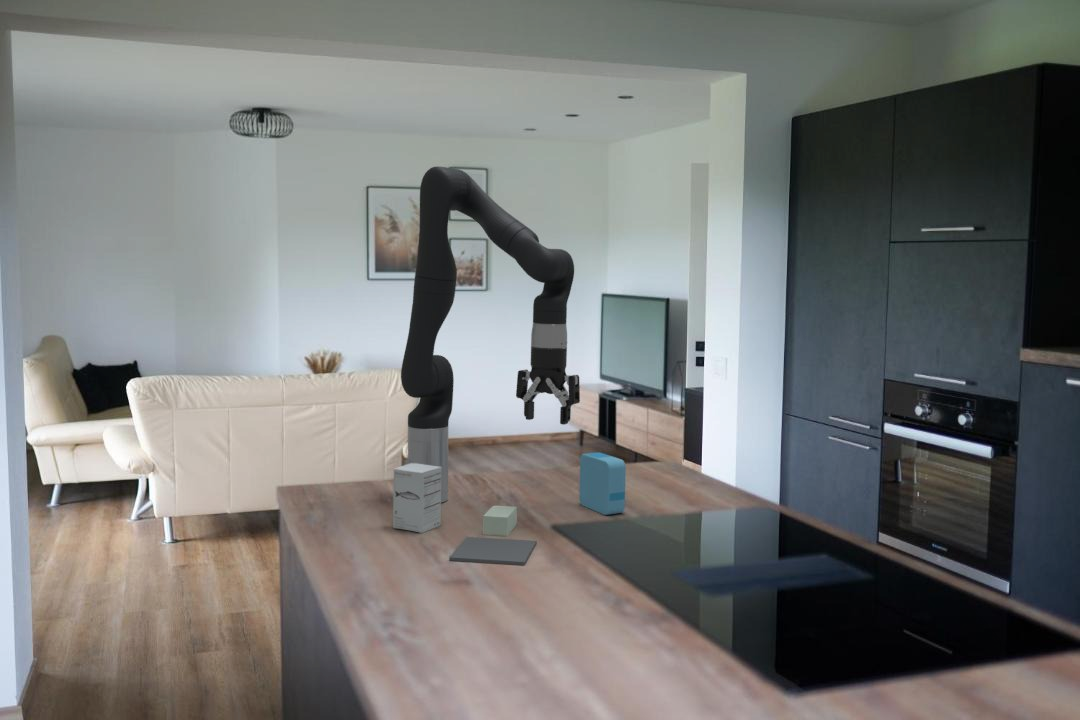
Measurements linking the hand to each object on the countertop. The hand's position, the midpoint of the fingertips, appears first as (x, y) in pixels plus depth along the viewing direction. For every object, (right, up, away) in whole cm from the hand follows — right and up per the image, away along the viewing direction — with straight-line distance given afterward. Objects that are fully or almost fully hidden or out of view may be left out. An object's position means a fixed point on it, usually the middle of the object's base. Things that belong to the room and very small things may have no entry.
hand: (546, 421), depth 207 cm
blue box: (+12, -21, +13) cm, 27 cm away
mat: (-10, -23, -21) cm, 33 cm away
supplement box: (-27, -22, -4) cm, 35 cm away
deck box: (-10, -22, -4) cm, 24 cm away
